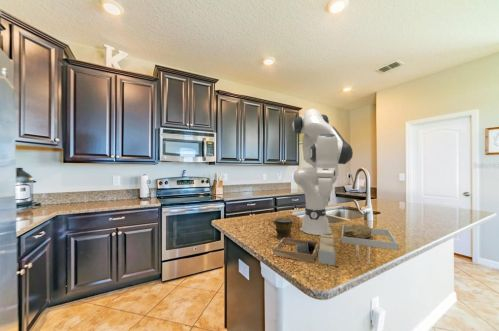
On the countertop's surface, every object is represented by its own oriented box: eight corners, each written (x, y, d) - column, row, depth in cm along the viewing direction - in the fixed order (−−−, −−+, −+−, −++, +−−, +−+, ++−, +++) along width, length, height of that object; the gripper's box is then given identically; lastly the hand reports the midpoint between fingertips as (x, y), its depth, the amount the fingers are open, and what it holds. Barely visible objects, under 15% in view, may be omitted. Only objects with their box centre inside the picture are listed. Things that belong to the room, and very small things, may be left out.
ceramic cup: (291, 235, 122) (291, 217, 123) (293, 241, 113) (293, 222, 113) (269, 234, 124) (269, 217, 124) (269, 240, 114) (269, 221, 114)
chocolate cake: (302, 248, 103) (292, 235, 97) (316, 246, 100) (307, 233, 94) (302, 268, 96) (291, 255, 90) (318, 267, 93) (308, 253, 87)
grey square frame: (342, 230, 132) (342, 225, 132) (388, 235, 121) (388, 229, 122) (341, 242, 110) (341, 236, 110) (397, 249, 100) (397, 243, 100)
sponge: (361, 246, 107) (381, 232, 118) (356, 231, 108) (377, 218, 118) (339, 243, 119) (359, 230, 129) (335, 230, 119) (355, 218, 129)
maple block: (321, 246, 91) (321, 234, 91) (333, 248, 89) (333, 236, 89) (319, 250, 86) (319, 238, 86) (333, 252, 84) (333, 239, 84)
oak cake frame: (283, 243, 109) (283, 237, 109) (318, 248, 102) (318, 242, 102) (272, 256, 93) (272, 249, 93) (313, 263, 86) (313, 255, 86)
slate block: (320, 257, 91) (320, 245, 91) (335, 260, 89) (335, 248, 89) (318, 263, 86) (318, 250, 86) (334, 266, 83) (334, 253, 83)
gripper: (321, 170, 101) (321, 199, 102) (316, 172, 83) (316, 207, 83) (336, 170, 99) (336, 199, 99) (333, 173, 80) (333, 209, 81)
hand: (326, 203), depth 91 cm, fingers open, 8 cm apart
